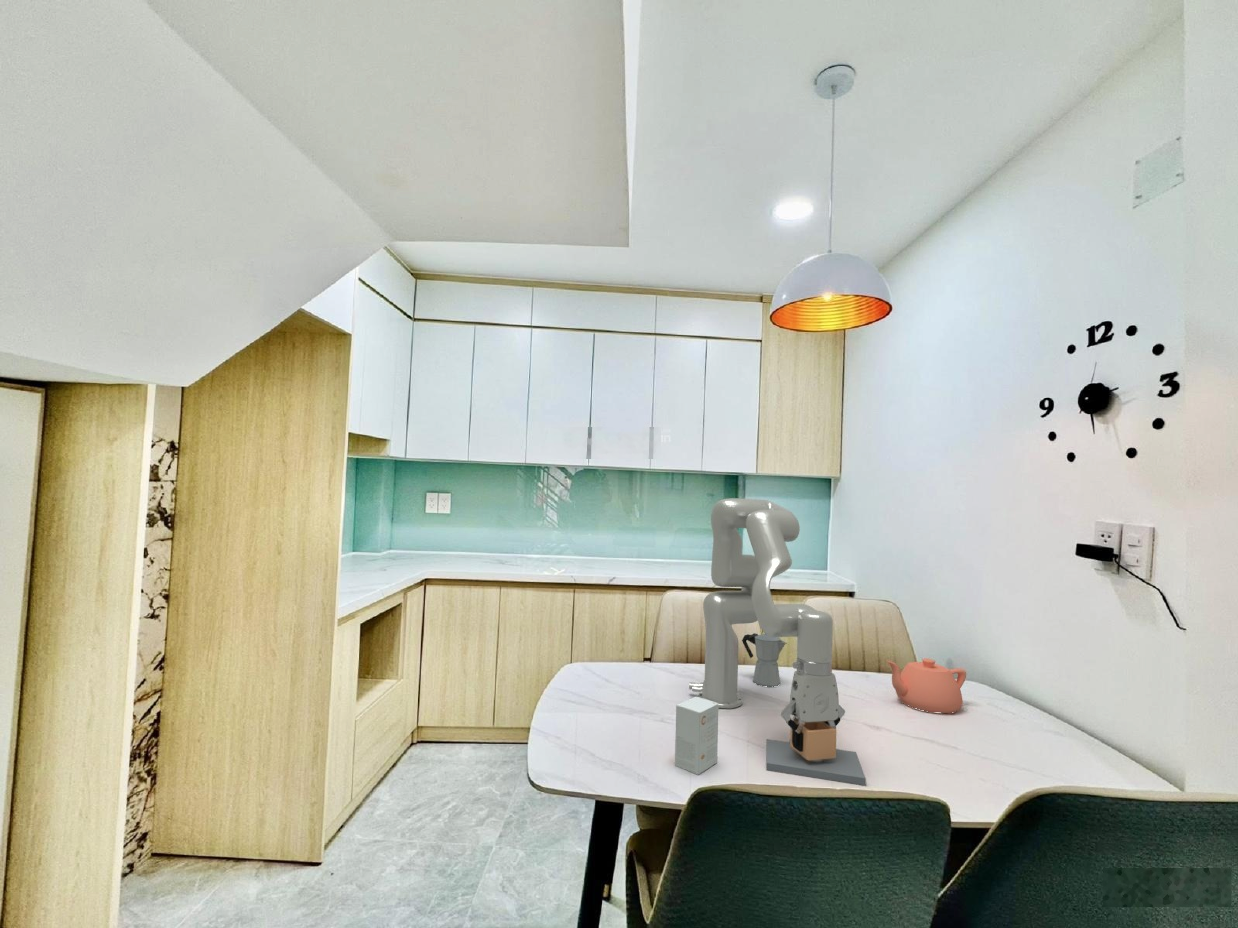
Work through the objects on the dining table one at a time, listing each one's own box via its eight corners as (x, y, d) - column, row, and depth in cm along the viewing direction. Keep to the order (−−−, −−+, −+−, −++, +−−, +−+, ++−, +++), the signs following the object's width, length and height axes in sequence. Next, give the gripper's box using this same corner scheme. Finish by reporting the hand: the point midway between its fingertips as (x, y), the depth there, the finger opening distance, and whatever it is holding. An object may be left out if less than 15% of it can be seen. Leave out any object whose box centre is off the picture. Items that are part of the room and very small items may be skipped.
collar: (808, 760, 121) (808, 732, 122) (790, 746, 128) (790, 719, 129) (835, 757, 123) (836, 730, 124) (816, 744, 130) (817, 717, 130)
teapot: (901, 715, 158) (902, 667, 159) (870, 694, 175) (870, 651, 176) (985, 716, 160) (985, 668, 161) (946, 695, 177) (946, 652, 178)
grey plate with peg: (766, 770, 122) (767, 739, 122) (766, 745, 134) (767, 717, 135) (865, 785, 117) (865, 753, 117) (855, 758, 129) (856, 729, 130)
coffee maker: (789, 683, 182) (791, 627, 183) (782, 690, 175) (783, 632, 176) (745, 674, 190) (747, 620, 191) (736, 681, 183) (738, 625, 184)
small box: (693, 753, 128) (695, 695, 129) (717, 763, 124) (719, 702, 125) (673, 765, 122) (675, 704, 123) (698, 775, 118) (700, 712, 119)
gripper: (789, 673, 121) (787, 758, 120) (858, 670, 126) (856, 752, 124) (771, 663, 128) (769, 743, 127) (836, 660, 133) (835, 738, 132)
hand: (812, 747), depth 126 cm, fingers closed on collar, 6 cm apart
